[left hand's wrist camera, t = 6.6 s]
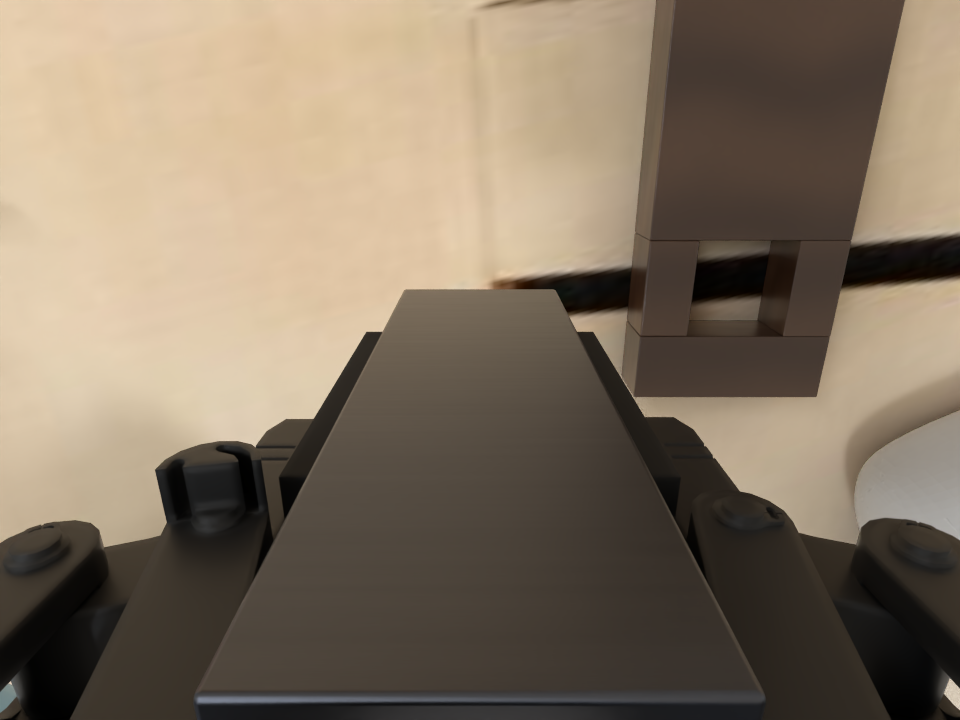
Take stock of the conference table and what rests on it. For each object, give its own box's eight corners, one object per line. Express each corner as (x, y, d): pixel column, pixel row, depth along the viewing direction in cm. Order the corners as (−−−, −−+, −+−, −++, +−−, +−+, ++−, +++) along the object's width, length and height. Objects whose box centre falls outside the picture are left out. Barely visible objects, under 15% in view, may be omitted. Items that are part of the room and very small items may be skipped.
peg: (549, 425, 17) (696, 1015, 5) (410, 425, 17) (262, 1015, 5) (555, 288, 15) (772, 699, 4) (403, 288, 15) (187, 698, 4)
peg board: (789, 376, 34) (922, 476, 24) (621, 376, 34) (681, 476, 24) (967, -508, 22) (1406, -1094, 11) (702, -508, 22) (902, -1094, 11)
